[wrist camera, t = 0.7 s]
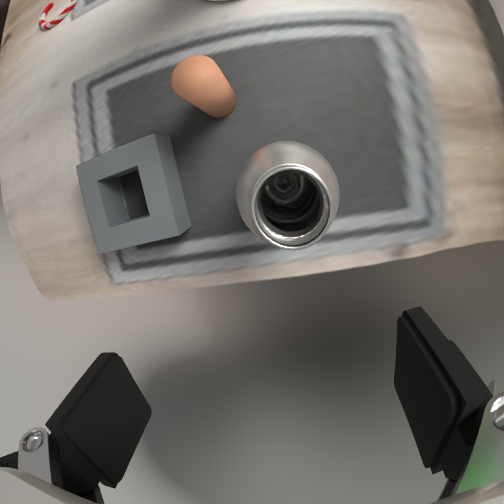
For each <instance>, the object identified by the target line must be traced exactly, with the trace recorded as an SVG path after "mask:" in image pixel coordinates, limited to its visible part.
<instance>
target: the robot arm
mask: <svg viewBox="0 0 504 504" xmlns="http://www.w3.org/2000/svg"><path fill="white" fill-rule="evenodd" d="M209 1H228V0H209ZM394 385H395V389H396V392H397V394H398V397H399V399H400V401H401V404H402V407H403V409H404V412H405V414H406V417H407V420H408V422H409V425H410V428H411V430H412V433H413V436H414V438H415V441H416V444H417V447H418V450H419V453H420V456H421V459H422V461H423V464H424V466H425V468H429V467H430V468H431V471H432V474H435V473H437V472H440V471H442V470H443V471H444V474H445V477H446V478H448V479H447V481H446V483H445V486H444V488H443V490H442V492H441V494H440V496H439V498H438V499H437V501H436V502H434V503H430V504H504V392H501V393H498V394H497V395H495V396H494V397H493V395H492V394H491V392H490V391H489V389H488V388H487V387H486V385H485V384H484V382H483V381H482V379H481V378H480V377H479V375H478V374H477V372H476V371H475V370H474V368H473V367H472V366H471V364H470V363H469V361H468V360H467V359H466V357H465V356H464V355H463V353H462V352H461V351H460V349H459V348H458V347H457V346H456V344H455V343H454V342H453V341H451V340H448V339H447V338H446V337H445V336H444V334H443V333H442V332H441V331H440V330H439V328H438V327H437V325H436V324H435V323H434V322H433V321H432V319H431V318H430V317H429V316H428V315H427V313H426V312H425V311H424V310H423V308H421V307H417V308H413V309H409V310H405V311H403V314H402V316H401V317H399V318H398V321H397V346H396V361H395V375H394ZM150 417H151V407H150V406H149V404H148V403H147V401H146V399H145V397H144V396H143V394H142V393H141V391H140V389H139V387H138V386H137V384H136V382H135V381H134V379H133V377H132V375H131V374H130V372H129V370H128V368H127V367H126V365H125V363H124V361H123V359H122V358H121V357H119V356H118V354H117V353H114V352H113V353H101V354H100V355H99V356H98V357H97V358H96V360H95V361H94V362H93V363H92V365H91V366H90V367H89V368H88V369H87V371H86V372H85V374H83V376H82V377H81V378H80V379H79V381H78V382H77V383H76V385H75V386H74V387H73V389H72V390H71V391H70V392H69V394H68V395H67V396H66V397H65V399H64V400H63V401H62V403H61V404H60V405H59V407H58V408H57V409H56V410H55V412H54V413H53V415H52V416H51V417H50V419H49V420H48V421H47V423H46V424H45V425H46V426H47V428H48V429H49V430H50V431H51V434H50V435H49V434H48V433H47V431H46V430H45V429H43V428H33V429H31V430H29V431H28V432H26V433H25V434H24V435H23V437H22V438H21V440H20V443H19V451H17V452H14V453H11V454H9V455H6V456H3V457H1V458H0V504H104V501H103V498H102V495H101V492H100V488H99V486H98V483H99V481H100V482H101V483H102V484H103V485H105V486H108V487H112V488H116V486H117V484H118V482H120V481H121V480H122V478H123V476H124V474H125V471H126V469H127V467H128V465H129V462H130V460H131V458H132V456H133V454H134V451H135V449H136V447H137V445H138V443H139V440H140V438H141V436H142V434H143V432H144V430H145V427H146V425H147V423H148V421H149V419H150Z"/></svg>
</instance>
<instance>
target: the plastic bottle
mask: <svg viewBox="0 0 504 504" xmlns="http://www.w3.org/2000/svg"><path fill="white" fill-rule="evenodd" d="M236 200H237V205H238V209H239V212H240V214H241V217H242V219H243V220H244V222H245V223H246V225H247V226H248V228H249V229H250V230H251V231H252V232H253V233H254V234H255V235H257V236H258V237H259V238H261V239H262V240H264V241H266V242H268V243H270V244H272V245H274V246H276V247H278V248H282V249H285V250H301V249H304V248H307V247H310V246H312V245H313V244H315V243H317V242H318V241H319V240H320V239H321V238H322V237H323V236H324V235H325V233H326V232H327V230H328V228H329V226H330V225H331V224H332V222H333V220H334V218H335V216H336V213H337V209H338V206H339V186H338V181H337V178H336V175H335V173H334V171H333V169H332V167H331V166H330V164H329V163H328V162H327V160H326V159H325V158H324V157H323V156H322V155H321V154H320V153H318V152H317V151H316V150H315V149H313V148H311V147H309V146H307V145H305V144H301V143H298V142H292V141H280V142H274V143H271V144H268V145H266V146H263V147H262V148H260V149H259V150H257V151H256V152H254V153H253V154H252V155H251V156H250V157H249V158H248V159H247V161H246V162H245V164H244V165H243V167H242V169H241V171H240V174H239V176H238V180H237V185H236Z"/></svg>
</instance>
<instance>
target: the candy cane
mask: <svg viewBox="0 0 504 504" xmlns="http://www.w3.org/2000/svg"><path fill="white" fill-rule="evenodd" d="M78 1H79V0H72V1H71V2H70V3H69V5H68V6H67V7H66V8H65V10H64V11H63V12H62V13H61V14H60V15H59V16H58V17H57V18H56V19H54V20H53V21H51V22H49V23H46V21H45V18H46V15H47V13H48V12H49V10H50V9H51V8H52V7H53V3H50V4H49V5H48V6H47V7H46V8H45V10H44V11H43V13H42V14H41V17H40V20H39V26H40V27H41V28H42V29H50V28H52V27H54V26H56V25H57V24H58V23H59V22H61V21H62V20H63V19H64V18H65V17H66V16H67V14H68V13H69V12H70V11H71V10H72V9H73V7H74V6H75V5H76V3H77V2H78Z"/></svg>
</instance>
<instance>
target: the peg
mask: <svg viewBox="0 0 504 504" xmlns="http://www.w3.org/2000/svg"><path fill="white" fill-rule="evenodd" d="M171 84H172V87H173V89H174V91H175V92H176V93H177V94H178V95H179V96H181V97H182V98H184V99H185V100H187V101H189V102H190V103H192V104H193V105H195V106H196V107H198V108H199V109H201V110H202V111H204V112H205V113H207V114H208V115H210V116H212V117H224V116H226V115H228V114H230V113H231V112H232V111H233V110H234V108H235V106H236V103H237V97H236V94H235V92H234V91H233V89H232V87H231V86H230V84H229V83H228V81H227V80H226V78H225V77H224V75H223V74H222V72H221V70H220V69H219V67H218V66H217V64H216V63H215V62H214V61H213V60H212V59H211V58H209V57H206V56H203V55H195V56H190V57H188V58H186V59H184V60H182V61H181V62H180V63H179V64H178V65H177V66H176V67H175V69H174V71H173V73H172V77H171Z"/></svg>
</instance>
